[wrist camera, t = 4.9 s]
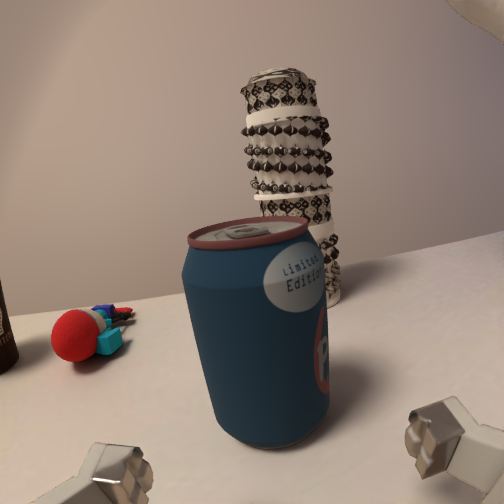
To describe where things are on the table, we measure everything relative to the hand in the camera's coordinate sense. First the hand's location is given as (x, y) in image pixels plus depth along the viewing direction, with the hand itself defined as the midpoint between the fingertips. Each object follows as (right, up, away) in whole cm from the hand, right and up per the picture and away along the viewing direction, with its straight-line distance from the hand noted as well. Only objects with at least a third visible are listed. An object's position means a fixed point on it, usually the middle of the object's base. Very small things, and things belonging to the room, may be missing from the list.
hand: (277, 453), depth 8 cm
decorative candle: (+5, 0, +28) cm, 29 cm away
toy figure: (-18, -4, +23) cm, 29 cm away
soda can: (+1, -5, +10) cm, 11 cm away
